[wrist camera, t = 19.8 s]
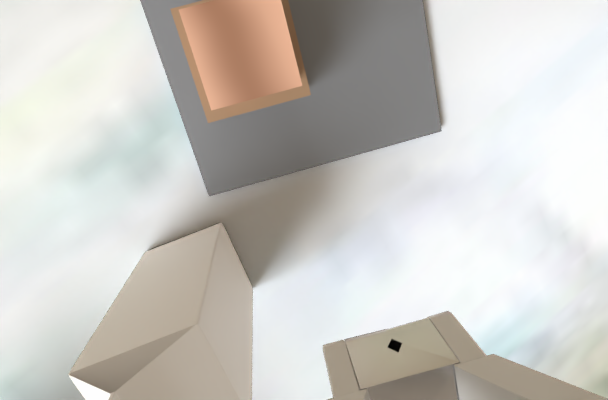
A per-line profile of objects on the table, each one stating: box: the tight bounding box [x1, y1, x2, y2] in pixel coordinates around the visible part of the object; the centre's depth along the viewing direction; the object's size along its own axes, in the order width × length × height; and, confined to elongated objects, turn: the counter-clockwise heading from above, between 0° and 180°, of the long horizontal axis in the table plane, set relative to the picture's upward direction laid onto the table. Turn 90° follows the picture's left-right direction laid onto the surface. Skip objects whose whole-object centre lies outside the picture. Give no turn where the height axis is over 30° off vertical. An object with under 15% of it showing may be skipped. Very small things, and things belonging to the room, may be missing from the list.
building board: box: [140, 0, 441, 196], centre depth 29 cm, size 20×15×6 cm
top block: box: [179, 0, 302, 111], centre depth 23 cm, size 5×5×5 cm
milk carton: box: [68, 223, 253, 400], centre depth 26 cm, size 7×7×19 cm
